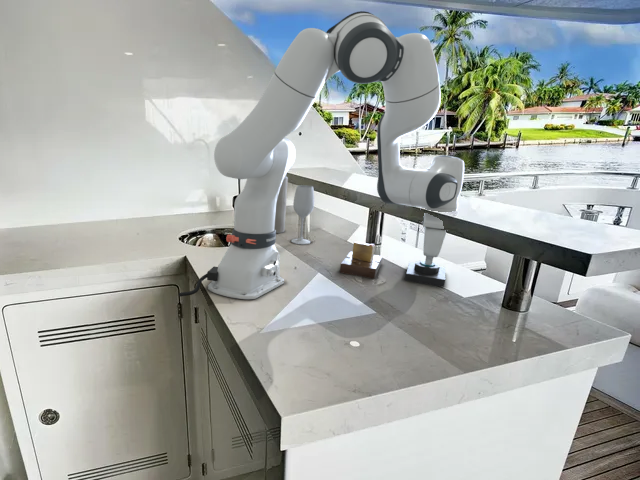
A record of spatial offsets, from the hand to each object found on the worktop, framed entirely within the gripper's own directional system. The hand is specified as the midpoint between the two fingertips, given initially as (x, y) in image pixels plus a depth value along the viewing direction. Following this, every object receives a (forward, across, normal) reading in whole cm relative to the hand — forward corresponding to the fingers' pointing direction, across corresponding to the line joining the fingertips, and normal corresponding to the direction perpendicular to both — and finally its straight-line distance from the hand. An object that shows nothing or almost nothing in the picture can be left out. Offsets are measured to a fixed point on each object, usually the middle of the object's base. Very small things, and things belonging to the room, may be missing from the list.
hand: (428, 263), depth 110 cm
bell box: (+4, 0, 0) cm, 4 cm away
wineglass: (+4, -18, -44) cm, 48 cm away
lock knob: (+1, +2, -18) cm, 18 cm away
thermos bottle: (+4, -29, -59) cm, 66 cm away
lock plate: (+4, +2, -18) cm, 19 cm away
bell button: (+2, 0, 0) cm, 2 cm away
